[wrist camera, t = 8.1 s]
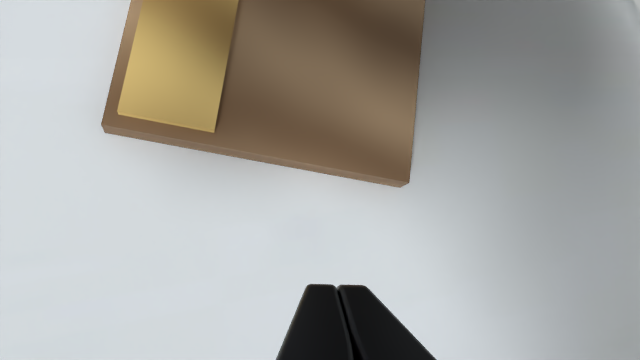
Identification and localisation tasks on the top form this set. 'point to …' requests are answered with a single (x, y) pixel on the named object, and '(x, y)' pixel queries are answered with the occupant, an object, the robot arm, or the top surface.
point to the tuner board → (274, 81)
